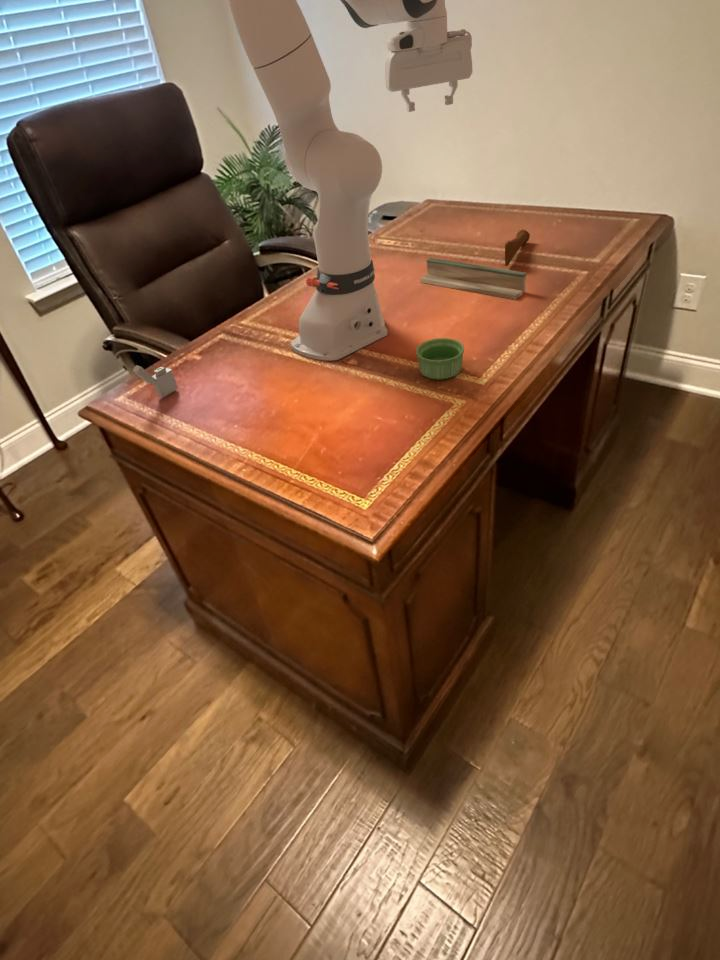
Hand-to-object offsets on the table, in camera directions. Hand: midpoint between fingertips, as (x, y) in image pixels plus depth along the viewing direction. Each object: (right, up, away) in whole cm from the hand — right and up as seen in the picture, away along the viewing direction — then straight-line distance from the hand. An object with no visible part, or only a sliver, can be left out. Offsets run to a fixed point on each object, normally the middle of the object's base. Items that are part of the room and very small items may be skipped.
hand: (430, 107), depth 139 cm
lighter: (-57, -71, -21) cm, 93 cm away
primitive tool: (+22, -33, +13) cm, 42 cm away
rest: (+10, -42, +2) cm, 43 cm away
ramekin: (-1, -67, -26) cm, 72 cm away
